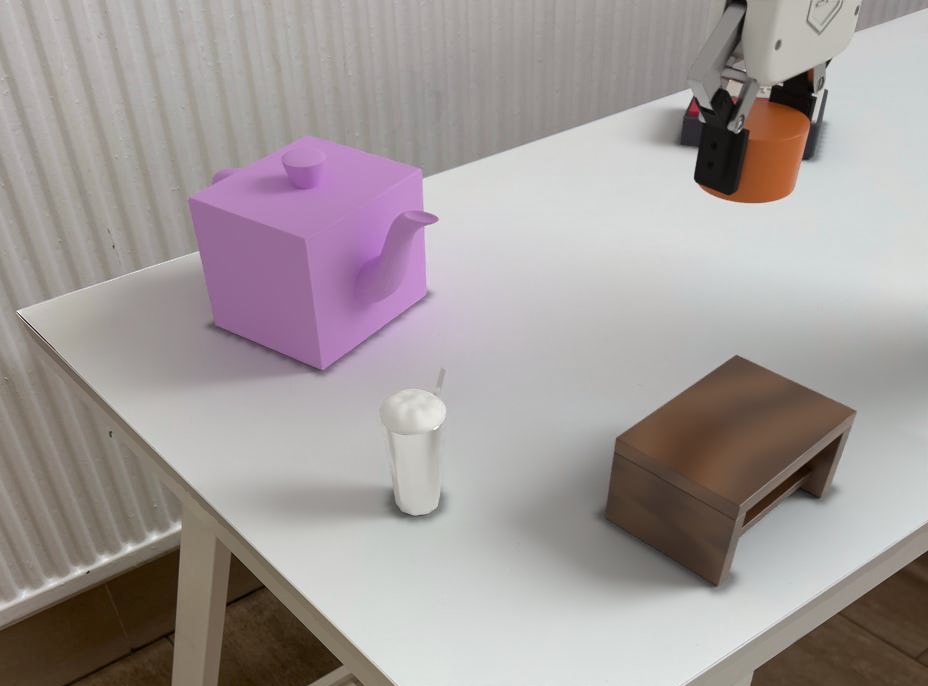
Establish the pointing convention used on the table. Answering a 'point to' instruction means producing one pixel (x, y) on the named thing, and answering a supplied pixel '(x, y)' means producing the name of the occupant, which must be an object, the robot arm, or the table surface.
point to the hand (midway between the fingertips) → (748, 168)
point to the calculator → (694, 125)
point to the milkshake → (415, 446)
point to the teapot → (312, 247)
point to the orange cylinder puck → (770, 154)
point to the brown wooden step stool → (723, 462)
